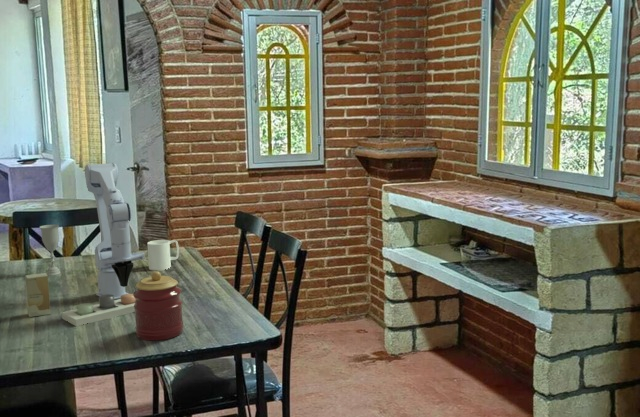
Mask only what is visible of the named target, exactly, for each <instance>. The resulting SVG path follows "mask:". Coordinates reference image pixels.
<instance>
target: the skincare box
mask: <svg viewBox="0 0 640 417" xmlns="http://www.w3.org/2000/svg"><path fill="white" fill-rule="evenodd" d="M25 288H26V290H25V291H26V292H25V293H26V307H27V315H28V317H29V318H31V317H37V316H46V315H51V305H50V304H51V303H50V302H51V301H50V289H49V288H50V287H49V275H47V272H45V273H43V272H42V273H33V274H26V275H25Z"/></svg>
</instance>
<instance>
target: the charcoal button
mask: <svg viewBox="0 0 640 417" xmlns="http://www.w3.org/2000/svg"><path fill="white" fill-rule="evenodd" d="M114 300H115V299H114V295H111V294H108V295H102V296H100V297H99V296H98V302H99V303H98V304H100V308H101V309H109V308H113V307H115V302H114Z"/></svg>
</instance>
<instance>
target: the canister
mask: <svg viewBox="0 0 640 417" xmlns="http://www.w3.org/2000/svg"><path fill="white" fill-rule="evenodd" d="M178 284H179V283H178V280H176V279H174V278H172V277H171V276H167V275H162V274H161V272H159V270H158V271H155V270H154V271H153V272H152V273H151V276H148V277H145V278H142V279H141V280H140V281H139V282H137V283H136V284H135V288H136V290H135V291H134V292H133V293H132V294H133V296H134V297H135V304H134V308H135V312H134V318H135V333H136V336H137V338H139V339H141V340H143V341H144V340H145V341H163V340H164V341H165V340H169V339H172V338H175V337H176V338H177V336H180V335H181V334H182V333H183V331H184V330H183V329H184V320H183V309H182V307H183V306H182V304H183V301H182V299H181V296H180V294H181V293H182V288H180V287H179V286H177V285H178Z"/></svg>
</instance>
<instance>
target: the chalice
mask: <svg viewBox="0 0 640 417" xmlns="http://www.w3.org/2000/svg"><path fill="white" fill-rule="evenodd" d="M59 227H60V225H59V224H45V225H40V226H39V229H40V232H41V233H40V234H41V241H42V244H43V245H44V247H45V248H46V250H47V251H49V252H50V255H49V258H50V260H49V261H50V264H51V266H50V267H48V269H47V272H46V273H47V275H48V276H56V275H60V274H61V271H60V269H59V267H58V266H56V264H55V262H56V260H55V255H54V251H56V249H57V246H58V244H59V240H60V235H59V234H60V232H59V229H60V228H59Z"/></svg>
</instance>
